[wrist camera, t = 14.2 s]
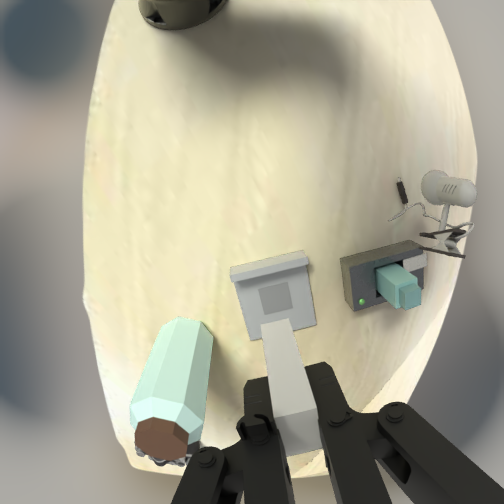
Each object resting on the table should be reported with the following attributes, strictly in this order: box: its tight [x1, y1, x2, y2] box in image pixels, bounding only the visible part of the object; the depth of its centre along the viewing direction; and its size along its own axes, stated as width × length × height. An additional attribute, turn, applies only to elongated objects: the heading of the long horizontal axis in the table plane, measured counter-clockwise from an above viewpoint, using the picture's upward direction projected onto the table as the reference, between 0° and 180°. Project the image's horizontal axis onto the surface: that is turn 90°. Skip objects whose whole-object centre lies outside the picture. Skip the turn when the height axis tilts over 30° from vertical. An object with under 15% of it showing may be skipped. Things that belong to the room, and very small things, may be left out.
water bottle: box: [130, 317, 213, 461], centre depth 40 cm, size 10×10×25 cm
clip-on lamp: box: [388, 170, 477, 258], centre depth 38 cm, size 12×6×18 cm, turn 172°
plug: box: [374, 262, 421, 310], centre depth 44 cm, size 4×4×12 cm
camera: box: [134, 440, 200, 467], centre depth 55 cm, size 16×8×10 cm, turn 79°
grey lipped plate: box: [230, 250, 316, 340], centre depth 49 cm, size 14×12×4 cm
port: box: [340, 240, 427, 311], centre depth 48 cm, size 8×15×5 cm, turn 103°
